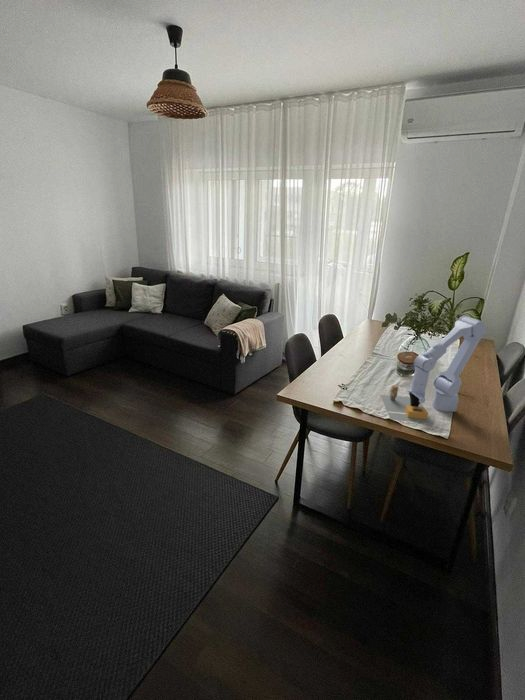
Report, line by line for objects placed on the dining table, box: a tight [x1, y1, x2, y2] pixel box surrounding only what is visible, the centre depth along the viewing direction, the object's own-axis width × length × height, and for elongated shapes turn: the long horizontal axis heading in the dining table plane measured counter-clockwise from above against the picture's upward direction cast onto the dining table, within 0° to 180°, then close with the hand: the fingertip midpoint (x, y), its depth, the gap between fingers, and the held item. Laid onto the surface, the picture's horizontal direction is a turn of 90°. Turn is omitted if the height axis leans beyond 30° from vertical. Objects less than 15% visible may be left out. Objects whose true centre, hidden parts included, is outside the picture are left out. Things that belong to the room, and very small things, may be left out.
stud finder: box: [405, 405, 429, 419], centre depth 149 cm, size 8×5×3 cm, turn 83°
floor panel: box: [379, 394, 434, 425], centre depth 155 cm, size 18×22×1 cm
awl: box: [389, 384, 399, 401], centre depth 161 cm, size 3×3×7 cm
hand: (413, 408), depth 153 cm, fingers closed
